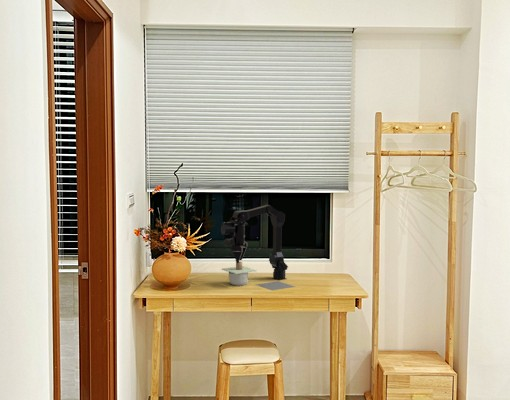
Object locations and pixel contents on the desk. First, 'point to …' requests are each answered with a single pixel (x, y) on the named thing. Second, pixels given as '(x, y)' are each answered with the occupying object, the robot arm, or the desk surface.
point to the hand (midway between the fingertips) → (239, 261)
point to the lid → (239, 269)
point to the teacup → (238, 279)
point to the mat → (275, 285)
